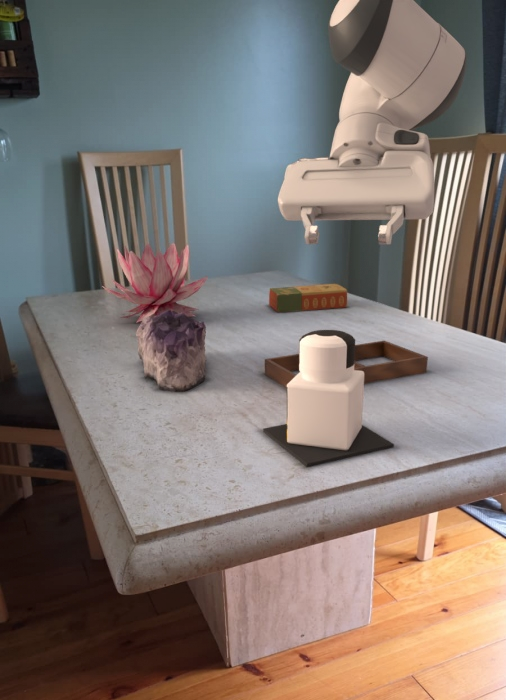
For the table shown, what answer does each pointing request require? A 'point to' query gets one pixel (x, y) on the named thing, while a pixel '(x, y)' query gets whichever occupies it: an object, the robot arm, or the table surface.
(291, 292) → the carton
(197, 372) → the geode
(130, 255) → the decorative flower
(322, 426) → the medicine bottle
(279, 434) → the coaster
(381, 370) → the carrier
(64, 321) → the table surface
